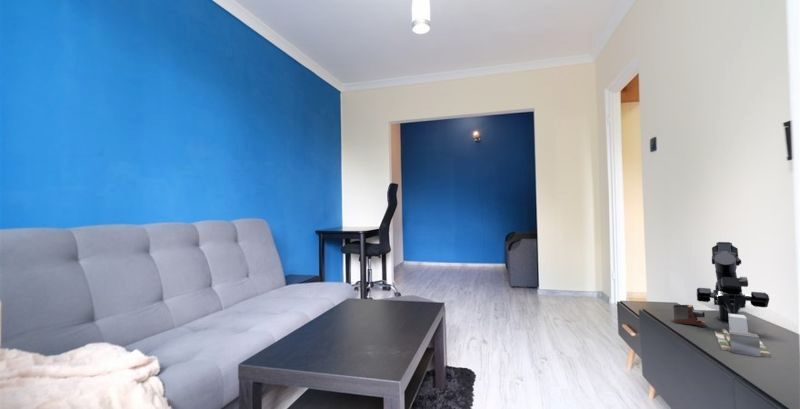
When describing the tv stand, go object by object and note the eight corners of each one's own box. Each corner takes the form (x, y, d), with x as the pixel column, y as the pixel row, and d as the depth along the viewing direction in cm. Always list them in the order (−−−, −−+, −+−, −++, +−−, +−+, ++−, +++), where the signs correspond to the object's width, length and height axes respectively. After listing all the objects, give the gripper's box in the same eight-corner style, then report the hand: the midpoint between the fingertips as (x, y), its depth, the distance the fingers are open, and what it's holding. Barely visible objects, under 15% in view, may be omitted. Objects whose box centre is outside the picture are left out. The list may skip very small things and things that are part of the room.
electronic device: (705, 328, 128) (704, 308, 128) (673, 323, 135) (672, 304, 135) (706, 325, 131) (705, 306, 131) (675, 320, 138) (673, 302, 138)
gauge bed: (714, 334, 122) (713, 317, 122) (758, 340, 115) (756, 322, 115) (722, 350, 108) (720, 332, 108) (771, 358, 102) (770, 338, 102)
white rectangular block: (715, 334, 119) (713, 311, 119) (746, 338, 114) (744, 315, 114) (716, 337, 116) (715, 314, 116) (748, 342, 111) (746, 318, 111)
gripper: (695, 266, 128) (700, 302, 119) (765, 270, 117) (777, 309, 108) (694, 283, 134) (699, 318, 125) (761, 287, 123) (772, 326, 114)
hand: (734, 317), depth 118 cm, fingers closed
